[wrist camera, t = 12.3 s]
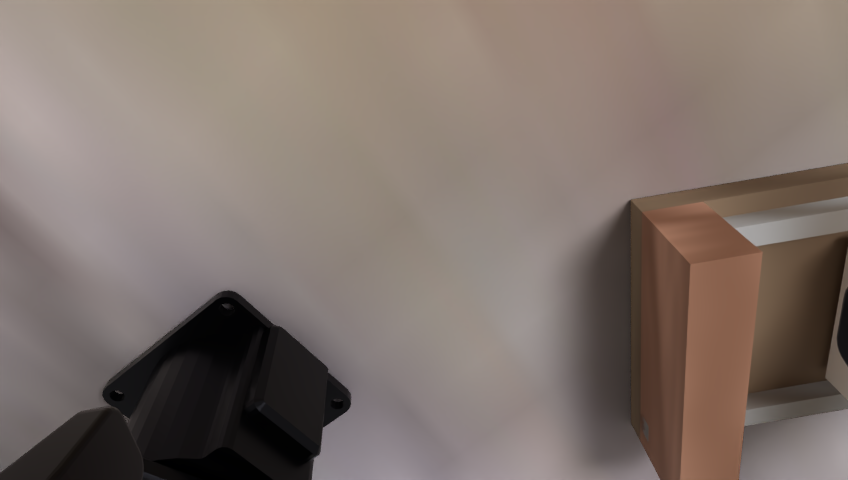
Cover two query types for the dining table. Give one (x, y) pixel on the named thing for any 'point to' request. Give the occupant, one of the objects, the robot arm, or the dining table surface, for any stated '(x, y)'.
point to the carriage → (837, 370)
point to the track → (780, 279)
